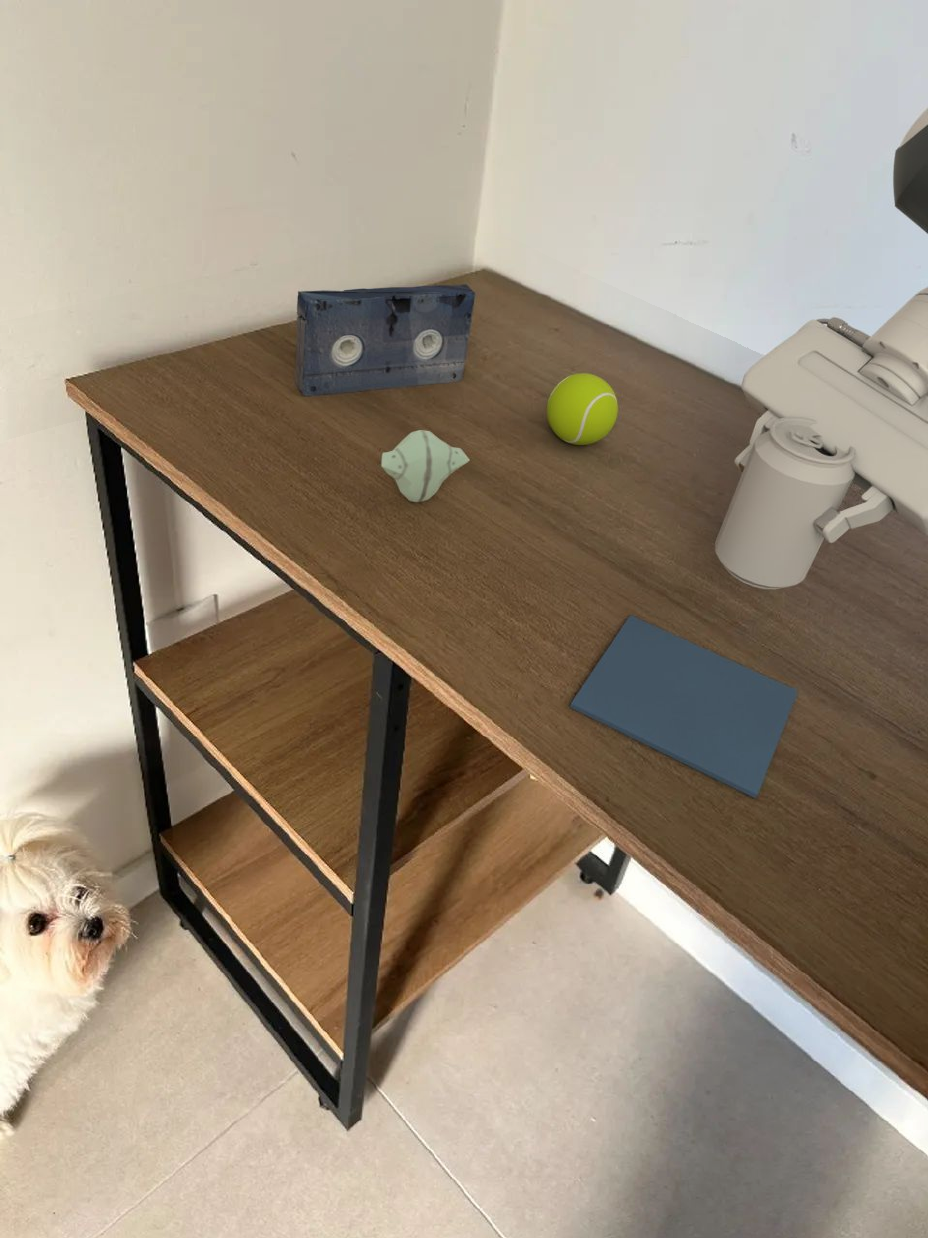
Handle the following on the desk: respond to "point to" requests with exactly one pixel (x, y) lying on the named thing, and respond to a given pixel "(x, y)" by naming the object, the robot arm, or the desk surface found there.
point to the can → (782, 505)
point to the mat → (688, 704)
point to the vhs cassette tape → (381, 337)
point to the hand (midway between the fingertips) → (780, 501)
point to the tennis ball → (582, 409)
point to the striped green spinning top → (422, 464)
